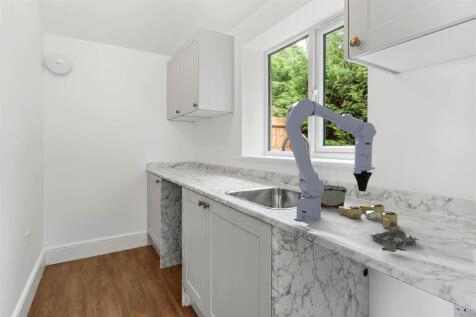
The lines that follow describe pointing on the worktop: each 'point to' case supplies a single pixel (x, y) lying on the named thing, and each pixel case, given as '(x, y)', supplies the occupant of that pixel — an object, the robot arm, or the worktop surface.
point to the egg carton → (390, 240)
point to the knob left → (350, 212)
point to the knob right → (389, 219)
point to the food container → (333, 196)
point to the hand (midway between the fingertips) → (362, 191)
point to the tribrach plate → (373, 215)
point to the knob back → (372, 208)
